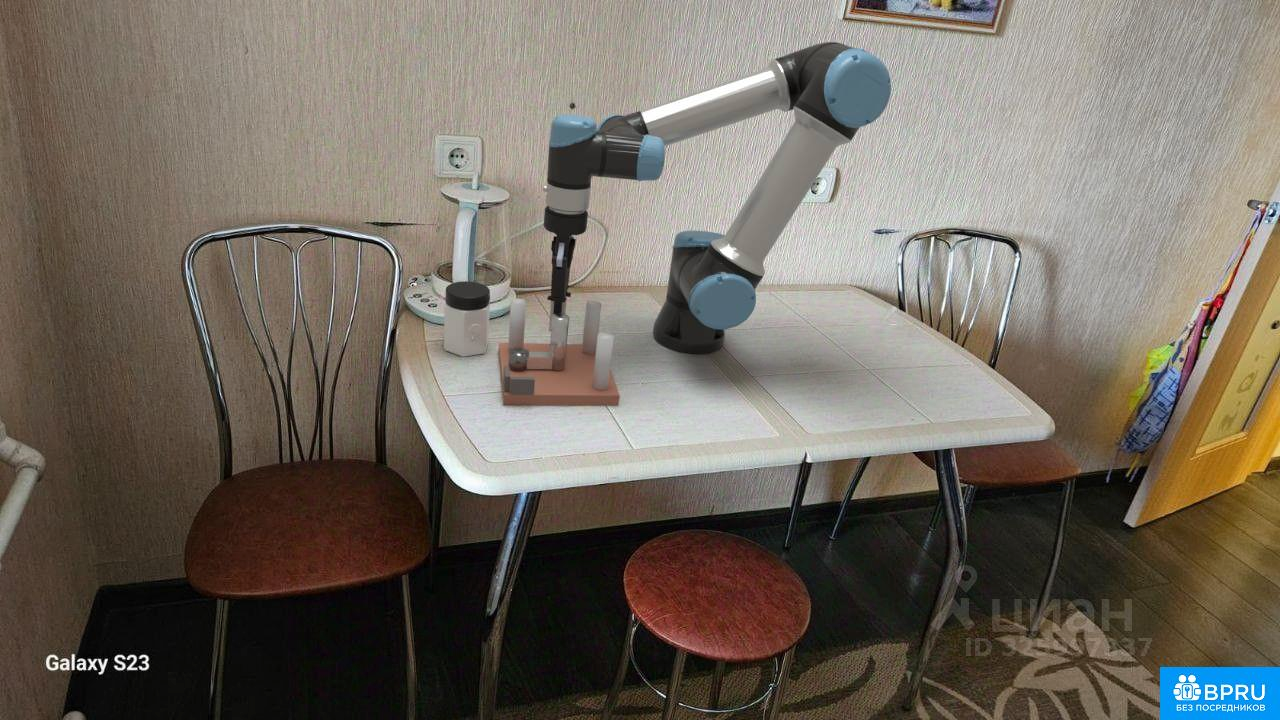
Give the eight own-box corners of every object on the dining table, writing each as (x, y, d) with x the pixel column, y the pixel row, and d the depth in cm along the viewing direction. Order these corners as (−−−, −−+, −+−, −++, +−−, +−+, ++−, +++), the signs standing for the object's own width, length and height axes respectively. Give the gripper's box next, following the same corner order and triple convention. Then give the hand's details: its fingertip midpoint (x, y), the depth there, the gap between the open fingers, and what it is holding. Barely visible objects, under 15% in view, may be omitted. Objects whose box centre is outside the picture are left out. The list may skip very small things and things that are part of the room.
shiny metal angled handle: (508, 370, 145) (511, 319, 141) (507, 361, 148) (510, 311, 144) (566, 371, 148) (570, 321, 143) (563, 362, 151) (568, 312, 146)
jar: (452, 359, 151) (453, 300, 146) (436, 341, 157) (436, 283, 152) (496, 352, 156) (499, 294, 151) (480, 335, 162) (481, 278, 157)
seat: (600, 353, 161) (607, 297, 155) (618, 405, 144) (625, 344, 138) (498, 352, 156) (501, 294, 151) (503, 405, 139) (506, 342, 134)
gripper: (549, 195, 147) (541, 314, 157) (540, 216, 135) (531, 343, 146) (591, 200, 147) (579, 319, 157) (584, 221, 135) (572, 348, 146)
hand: (556, 330), depth 152 cm, fingers closed
